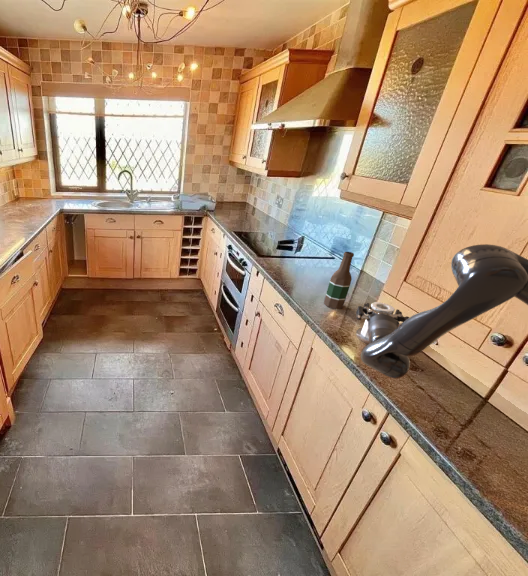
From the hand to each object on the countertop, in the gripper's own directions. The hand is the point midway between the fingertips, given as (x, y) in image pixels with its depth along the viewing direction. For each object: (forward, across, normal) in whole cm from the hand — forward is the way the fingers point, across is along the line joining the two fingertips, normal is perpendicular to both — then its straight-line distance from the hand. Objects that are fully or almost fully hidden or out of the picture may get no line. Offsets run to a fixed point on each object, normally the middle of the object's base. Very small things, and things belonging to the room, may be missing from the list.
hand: (381, 308), depth 107 cm
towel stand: (-2, 0, +12) cm, 12 cm away
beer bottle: (+18, +14, +12) cm, 25 cm away
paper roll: (-2, 0, +10) cm, 10 cm away
